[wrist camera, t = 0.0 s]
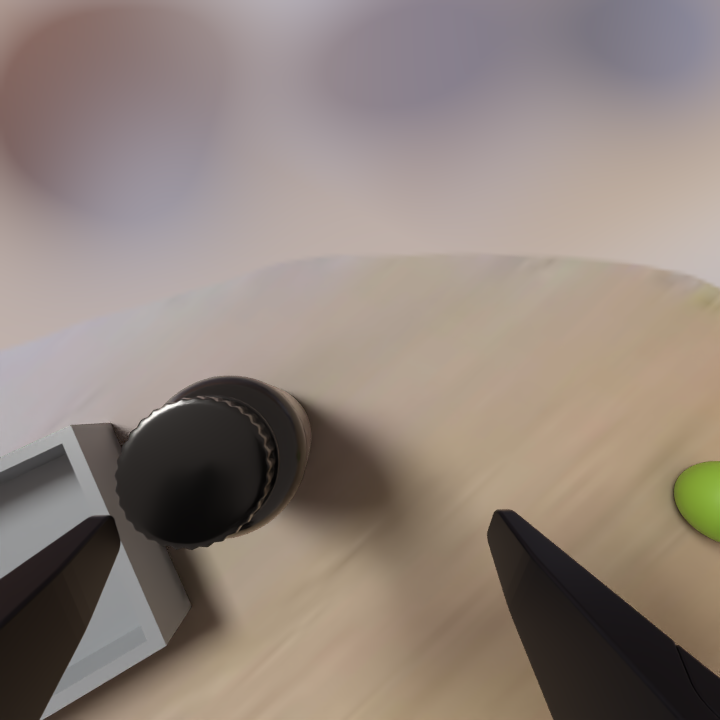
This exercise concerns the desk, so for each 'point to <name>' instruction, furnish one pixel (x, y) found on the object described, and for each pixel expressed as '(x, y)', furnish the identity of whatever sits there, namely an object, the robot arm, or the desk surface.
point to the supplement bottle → (213, 462)
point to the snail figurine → (700, 497)
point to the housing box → (130, 570)
